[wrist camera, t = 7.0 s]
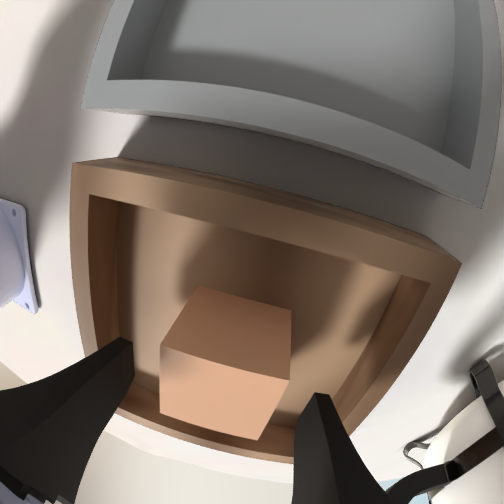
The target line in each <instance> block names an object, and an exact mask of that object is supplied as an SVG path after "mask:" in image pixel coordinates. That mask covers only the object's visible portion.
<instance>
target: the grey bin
mask: <svg viewBox="0 0 504 504" xmlns="http://www.w3.org/2000/svg"><path fill="white" fill-rule="evenodd" d="M500 105H501V49H500V37H499V28H498V21H497V15H496V9H495V4H494V0H114V2H113V5H112V7H111V9H110V12H109V14H108V17H107V19H106V22H105V24H104V27H103V29H102V32H101V35H100V38H99V41H98V44H97V47H96V50H95V53H94V56H93V59H92V63H91V66H90V70H89V73H88V77H87V81H86V85H85V89H84V93H83V98H82V103H81V108H80V109H90V110H99V111H108V112H115V113H122V114H136V115H149V116H160V117H170V118H178V119H186V120H194V121H201V122H207V123H214V124H220V125H225V126H231V127H236V128H241V129H246V130H251V131H256V132H261V133H265V134H269V135H274V136H278V137H282V138H286V139H290V140H294V141H298V142H301V143H305V144H309V145H312V146H316V147H319V148H323V149H326V150H329V151H333V152H336V153H339V154H342V155H345V156H348V157H351V158H354V159H357V160H360V161H363V162H366V163H369V164H371V165H374V166H377V167H379V168H382V169H385V170H387V171H390V172H392V173H395V174H398V175H400V176H402V177H405V178H407V179H410V180H412V181H414V182H417V183H419V184H421V185H424V186H426V187H428V188H430V189H432V190H435V191H437V192H439V193H441V194H444V195H447V196H449V197H452V198H455V199H457V200H460V201H463V202H465V203H468V204H470V205H473V206H475V207H478V208H480V209H482V205H483V202H484V198H485V194H486V191H487V187H488V183H489V178H490V174H491V169H492V164H493V159H494V154H495V148H496V142H497V135H498V127H499V117H500Z"/></svg>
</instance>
